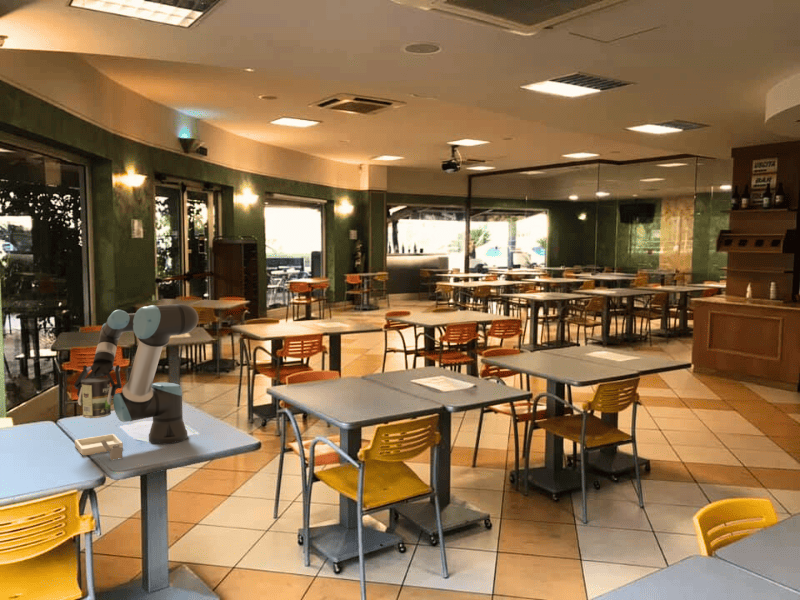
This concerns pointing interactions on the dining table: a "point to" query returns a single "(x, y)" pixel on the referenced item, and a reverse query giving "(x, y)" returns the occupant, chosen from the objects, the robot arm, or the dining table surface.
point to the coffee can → (95, 397)
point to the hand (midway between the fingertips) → (94, 403)
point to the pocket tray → (96, 444)
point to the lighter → (113, 450)
